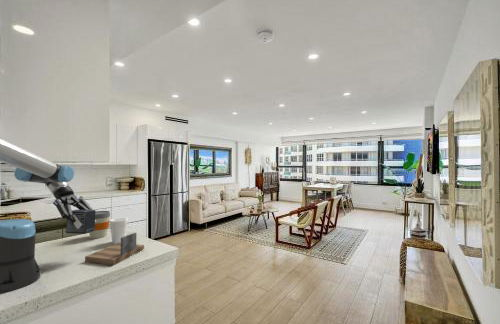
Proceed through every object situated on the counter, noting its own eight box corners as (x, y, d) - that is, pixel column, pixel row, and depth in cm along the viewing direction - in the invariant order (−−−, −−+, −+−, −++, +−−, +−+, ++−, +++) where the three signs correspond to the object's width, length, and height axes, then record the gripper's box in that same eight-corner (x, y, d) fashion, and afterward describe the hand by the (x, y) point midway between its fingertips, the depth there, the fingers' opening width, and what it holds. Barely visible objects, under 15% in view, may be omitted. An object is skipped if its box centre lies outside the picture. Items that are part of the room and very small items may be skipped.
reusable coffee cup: (106, 238, 144) (107, 213, 144) (83, 240, 140) (83, 215, 140) (112, 232, 156) (112, 210, 156) (90, 234, 152) (90, 211, 152)
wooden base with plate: (113, 265, 104) (114, 241, 104) (85, 261, 108) (85, 239, 108) (144, 249, 124) (144, 229, 124) (118, 247, 127) (119, 228, 127)
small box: (95, 230, 116) (96, 209, 117) (85, 234, 110) (85, 211, 110) (76, 229, 118) (77, 208, 118) (65, 233, 111) (65, 211, 112)
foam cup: (110, 240, 139) (110, 218, 139) (128, 238, 143) (128, 217, 143) (108, 245, 131) (108, 222, 131) (127, 243, 134) (127, 220, 135)
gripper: (76, 193, 127) (99, 225, 123) (35, 198, 108) (62, 235, 104) (84, 184, 126) (108, 215, 122) (44, 187, 107) (71, 224, 103)
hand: (87, 224), depth 113 cm, fingers closed on small box, 7 cm apart
